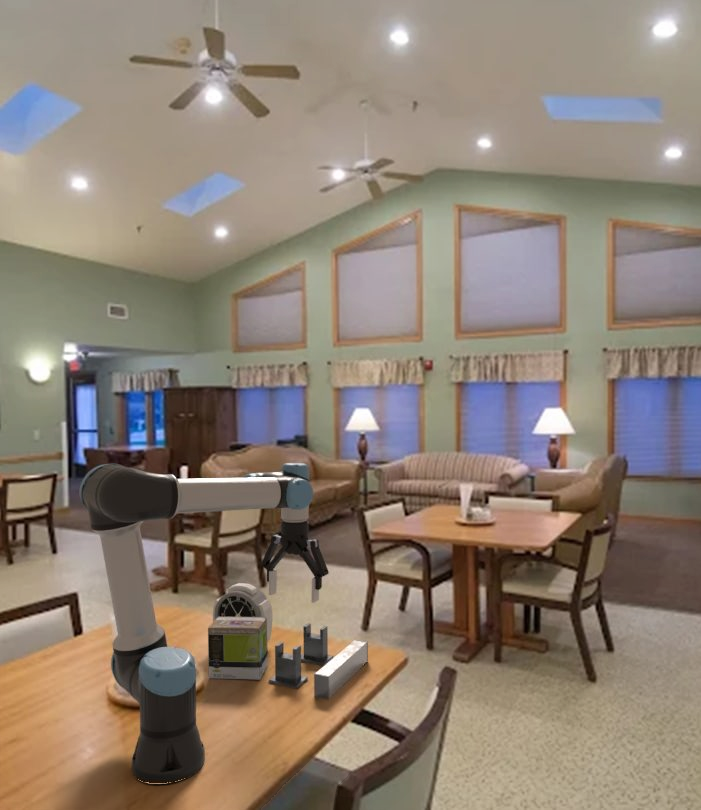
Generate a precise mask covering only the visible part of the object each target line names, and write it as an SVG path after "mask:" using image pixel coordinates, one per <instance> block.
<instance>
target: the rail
mask: <svg viewBox="0 0 701 810" xmlns="http://www.w3.org/2000/svg"><path fill="white" fill-rule="evenodd" d="M366 661H368V662H369V642H368V641H367V640H362V639H354V640H353V641H351V643H349V644H348V645H347V646H346V647H345V648H344V649H342V650H341V651H340V652H338V654H337V655H335V656H333V659H332V660H330V661H329V662H328V663H327V664H326V665H325V666H323V665H322V667H321V668H320V669H318V671H316V672H314V673H313V680H314V681H313V687H314V688H313V690H314V694H313V695H314V696H313V697H314V698H317V699H323V700H327V701H329V700H330V698H332V696H334V695H335V694H336V693H337V692H338V691H339V690H340V689H342V687H343V686H344V685H346V683H347V682H348V681H349V680H350V679H352V677H353V676H354V675H356V673H357V672H358V671H360V670H361V669H362V668H363V667H364V666H363V664H365V663H366ZM366 664H367V663H366ZM366 664H365V665H366ZM362 666H363V667H362ZM361 667H362V668H361ZM360 668H361V669H360Z"/></svg>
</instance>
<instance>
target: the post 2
mask: <svg viewBox="0 0 701 810" xmlns="http://www.w3.org/2000/svg"><path fill="white" fill-rule="evenodd" d="M319 630H320V632H319V634H318V633H317V634H316V633H312V623H306V624H305V625H304V626H303V654H302V653H301V663H302V662H303V663H307V664H308V663H309V664H314V665H319V666H322V667H323V666H325V665H326V664H327V663H328V662H329V661H330V660H332V659H333V658H334V654H333V655H332V654H329V653H328V651H329V648H328V643H329V642H328V639H329V638H328V636H329V635H328V626H327V625H323V627H321V628H320V629H319Z"/></svg>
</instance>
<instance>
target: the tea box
mask: <svg viewBox="0 0 701 810" xmlns="http://www.w3.org/2000/svg"><path fill="white" fill-rule="evenodd" d="M207 643H208V644H207V645H208V646H207V647H208V648H207V649H208V651H207V653H208V655H207V656H208V657H207V658H208V677H209V678H208V679H220V680H221V679H223V680H224V679H225V680H226V679H228V680H229V679H230V680H257V681H260V680H261V679H262V677H263V675H264V674H265V672H266V669H267V667H268V662H269V660H268V642H267V617H218V618H217V619H216V620H215V621H214V622H213V621H212V623H211V624H210V625H209V626H208V628H207Z"/></svg>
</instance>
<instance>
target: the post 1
mask: <svg viewBox="0 0 701 810" xmlns="http://www.w3.org/2000/svg"><path fill="white" fill-rule="evenodd" d="M284 650H285V649H284V641H280V642H278V643H277V644H275V645H274V661H275V662H274V665H275V666H274V668H275V669H274V672H275V674H274V675H273V676H271V677H270V678H269V679H268V683H269V684H274V685H278V686H283V687H287V688H291V689H297V690H298V688H300V687H301V686H302V685H304V683H306V682H307V681H308V680H309V677H308V676H305V675H302V661H301V655H302V645H301V644H300V645H299V644H297V645H296V646H294V647H293V648H292V654H291V653H287V652H284Z"/></svg>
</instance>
